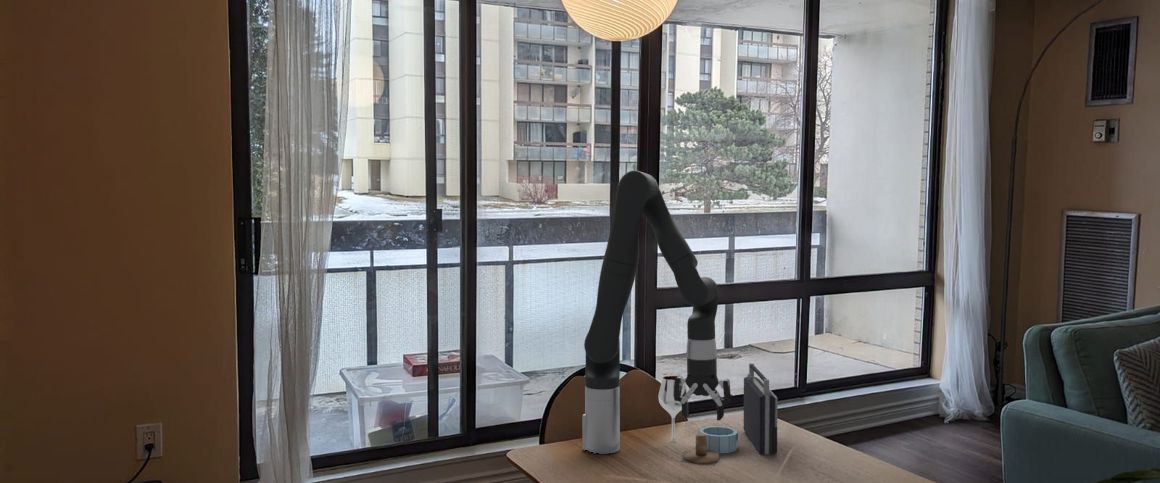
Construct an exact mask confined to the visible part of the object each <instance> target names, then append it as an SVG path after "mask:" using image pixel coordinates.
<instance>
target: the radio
mask: <svg viewBox="0 0 1160 483" xmlns="http://www.w3.org/2000/svg"><path fill="white" fill-rule="evenodd" d="M755 374H756V375H757V376H758V377H759V378H758V377H756V376H755ZM743 430H744V432H745V434H746V436H747V437H748V439H749V440H750V442H751V444H752V445H753V447H754V448H755V450H756V451H757V453H758V454H759V455H775V454H777V453H778V396H777V395H776V394H774V392H773V391H772V390H771V389H770V380H769V378H767V377H766V376H765V375H764V374H763V373H762V372H761V371H760V370H759V368H757V367H756V365H755V363H752V362H751V363H750V362H749V364H748V373H747V376H745V377H743Z"/></svg>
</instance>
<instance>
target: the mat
mask: <svg viewBox="0 0 1160 483" xmlns="http://www.w3.org/2000/svg"><path fill="white" fill-rule="evenodd" d="M722 457H723V455H722V454H719V460H721V458H722ZM719 460H718V461H717V462H714V463H709V464H703V465H706V466H713V467H715V466H716V465H717V464H718V462H719ZM679 462H680V463H688V464H693V463H692V462H688V461H686V460H685V459H684V456H682V458H681V459H680V460H679ZM695 464H696V465H697V464H698V463H695ZM698 465H699V464H698Z"/></svg>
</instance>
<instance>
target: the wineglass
mask: <svg viewBox="0 0 1160 483" xmlns="http://www.w3.org/2000/svg"><path fill="white" fill-rule="evenodd" d="M678 376H679V375H666V376H663V377H662V380H661V384H660V387H659V392H658V397H657V398H658V402H659V404H660V406H661V407H662V408H663V409H664V410H665V411H666V412H667V413H668V414H669V415H670V417H671V439H670V440H669V442H672V443H673V442H677V439H676V432H675V431H676V429H675V425H676V424H675V422H676V420H675V419H676V416H677V415H678V414H679V412H680V413H681V412H682V404H681V402H679V401H675V400H674V389H675V379H676V378H677V377H678ZM680 377H681V378H684V377H683V376H680ZM687 392H688V389H687V384H686V382H684V385H683V386H681V396H683V397H684V396H685V394H686V393H687ZM687 402H689V400H688V401H687Z"/></svg>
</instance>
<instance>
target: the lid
mask: <svg viewBox="0 0 1160 483" xmlns="http://www.w3.org/2000/svg"><path fill="white" fill-rule="evenodd" d="M719 455H720V453H717V452H714V451H711V450H707V435H706V434H699V433H697V434H695V449H690V450H686V451H684V452H683V457H684V459H685V460H686V461H688V462H692V463H691V464H696V463H698V465H704V464H709V463H714V462H717V461H718V460H720V459H719ZM718 462H719V461H718ZM718 462H717V463H718Z"/></svg>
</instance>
